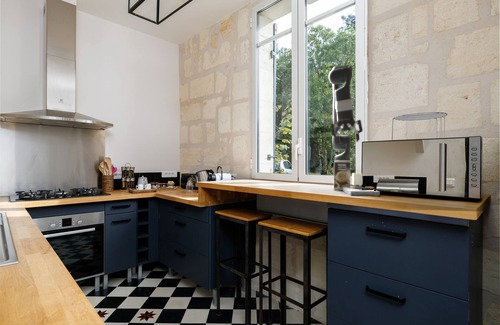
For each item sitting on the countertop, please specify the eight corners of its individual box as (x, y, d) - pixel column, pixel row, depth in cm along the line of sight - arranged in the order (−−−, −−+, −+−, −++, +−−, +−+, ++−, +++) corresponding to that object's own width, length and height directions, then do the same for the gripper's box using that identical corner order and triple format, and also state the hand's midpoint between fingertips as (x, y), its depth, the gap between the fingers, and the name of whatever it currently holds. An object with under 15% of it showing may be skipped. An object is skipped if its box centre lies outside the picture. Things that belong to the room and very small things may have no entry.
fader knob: (352, 187, 150) (352, 173, 150) (360, 187, 149) (360, 173, 149) (353, 188, 146) (353, 173, 146) (362, 188, 145) (362, 173, 145)
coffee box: (333, 190, 159) (333, 162, 159) (333, 189, 165) (333, 162, 165) (350, 190, 156) (350, 161, 156) (350, 189, 162) (349, 162, 162)
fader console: (343, 191, 153) (343, 187, 153) (368, 191, 151) (368, 187, 151) (350, 195, 132) (350, 191, 132) (379, 195, 130) (379, 191, 130)
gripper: (360, 107, 136) (364, 140, 138) (331, 112, 143) (335, 143, 144) (359, 107, 129) (362, 141, 131) (328, 112, 136) (332, 145, 138)
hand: (348, 142), depth 138 cm, fingers open, 8 cm apart
